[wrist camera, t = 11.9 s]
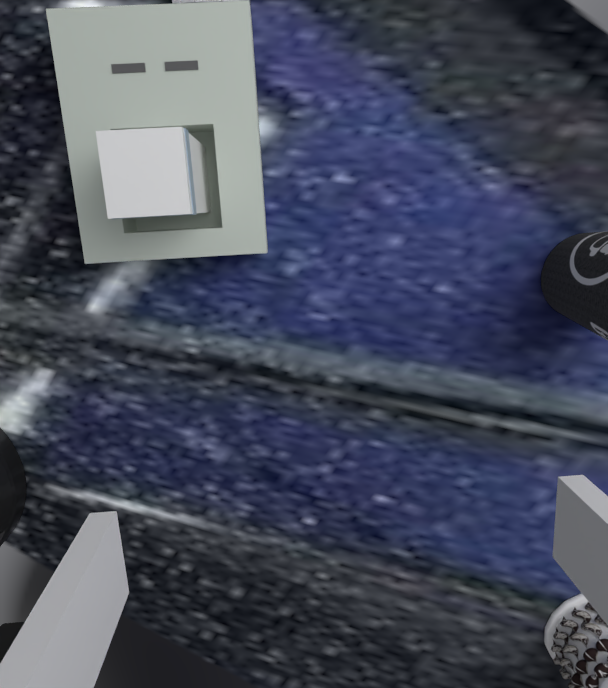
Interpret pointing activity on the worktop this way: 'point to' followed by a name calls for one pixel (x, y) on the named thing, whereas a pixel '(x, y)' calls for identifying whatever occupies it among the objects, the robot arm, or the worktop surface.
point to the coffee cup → (579, 280)
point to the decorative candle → (579, 643)
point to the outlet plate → (163, 119)
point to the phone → (199, 0)
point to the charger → (153, 173)
